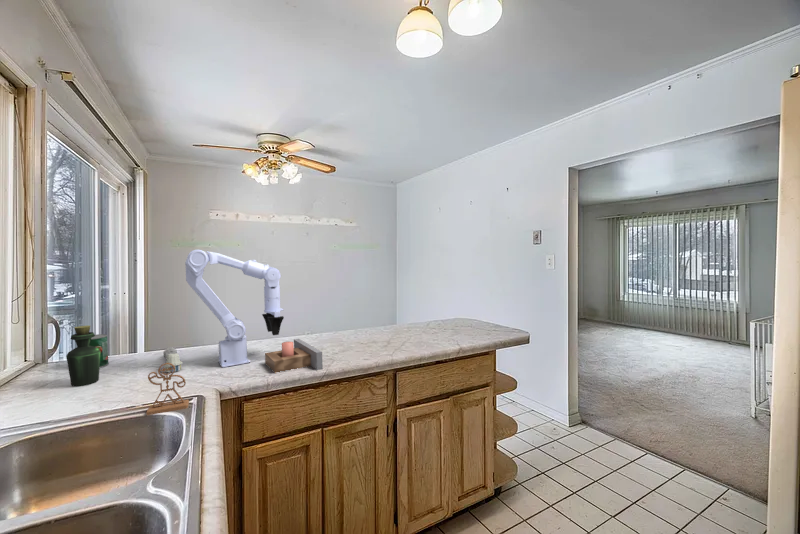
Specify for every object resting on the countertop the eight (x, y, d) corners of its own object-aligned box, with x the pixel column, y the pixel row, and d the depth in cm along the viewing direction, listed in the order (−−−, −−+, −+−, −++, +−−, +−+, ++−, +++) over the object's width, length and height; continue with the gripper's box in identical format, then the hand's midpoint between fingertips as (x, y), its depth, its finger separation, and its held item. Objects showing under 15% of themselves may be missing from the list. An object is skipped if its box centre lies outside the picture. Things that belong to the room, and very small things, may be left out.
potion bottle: (108, 379, 114) (106, 324, 113) (80, 388, 106) (77, 329, 105) (89, 377, 115) (86, 323, 115) (60, 386, 108) (57, 329, 107)
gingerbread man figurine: (189, 402, 94) (187, 358, 94) (187, 408, 91) (185, 362, 90) (149, 409, 91) (147, 363, 90) (146, 415, 87) (143, 368, 87)
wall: (317, 370, 119) (316, 352, 119) (294, 354, 139) (293, 339, 139) (322, 368, 120) (322, 351, 120) (299, 353, 140) (298, 338, 140)
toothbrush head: (177, 345, 141) (182, 350, 121) (178, 362, 140) (183, 370, 120) (161, 348, 138) (164, 353, 117) (162, 365, 137) (164, 373, 117)
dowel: (284, 367, 123) (283, 344, 122) (280, 364, 126) (280, 342, 126) (295, 365, 125) (294, 343, 125) (291, 362, 128) (291, 340, 128)
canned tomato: (107, 361, 133) (106, 333, 133) (109, 366, 128) (108, 336, 127) (79, 366, 128) (78, 336, 127) (80, 371, 122) (79, 340, 122)
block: (274, 373, 117) (274, 361, 117) (265, 364, 127) (264, 353, 127) (310, 365, 124) (310, 354, 124) (299, 357, 134) (298, 347, 134)
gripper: (288, 299, 131) (288, 335, 131) (278, 295, 143) (278, 328, 144) (268, 300, 127) (269, 337, 128) (259, 297, 139) (260, 330, 140)
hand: (273, 333), depth 135 cm, fingers open, 7 cm apart
